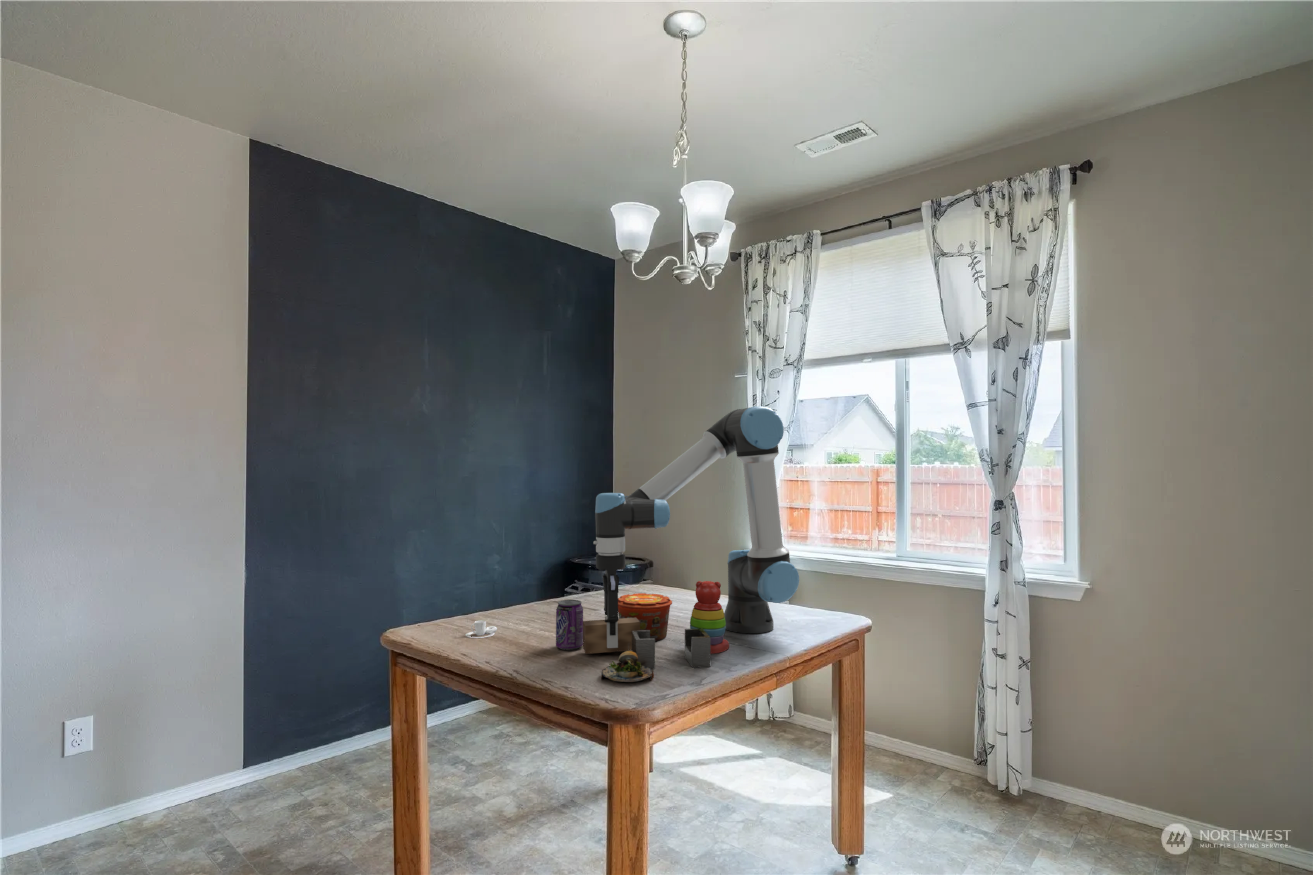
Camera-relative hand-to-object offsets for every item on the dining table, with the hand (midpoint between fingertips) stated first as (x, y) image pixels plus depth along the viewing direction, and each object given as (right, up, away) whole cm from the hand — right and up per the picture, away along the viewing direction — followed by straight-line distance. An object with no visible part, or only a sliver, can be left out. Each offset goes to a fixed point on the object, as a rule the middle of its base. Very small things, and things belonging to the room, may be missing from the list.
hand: (611, 644), depth 177 cm
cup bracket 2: (+21, -2, -7) cm, 22 cm away
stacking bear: (+25, -3, +5) cm, 26 cm away
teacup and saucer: (-35, -3, +17) cm, 40 cm away
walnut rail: (0, -1, 0) cm, 1 cm away
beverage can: (-11, -3, +5) cm, 13 cm away
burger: (+5, -2, -20) cm, 20 cm away
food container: (+8, -3, +17) cm, 19 cm away
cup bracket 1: (+9, -2, -9) cm, 13 cm away
